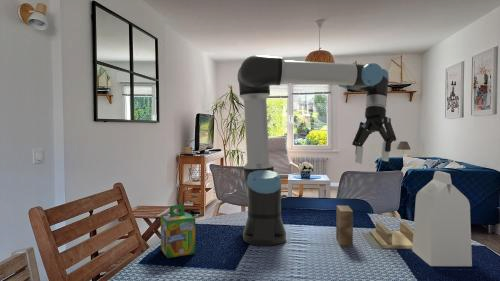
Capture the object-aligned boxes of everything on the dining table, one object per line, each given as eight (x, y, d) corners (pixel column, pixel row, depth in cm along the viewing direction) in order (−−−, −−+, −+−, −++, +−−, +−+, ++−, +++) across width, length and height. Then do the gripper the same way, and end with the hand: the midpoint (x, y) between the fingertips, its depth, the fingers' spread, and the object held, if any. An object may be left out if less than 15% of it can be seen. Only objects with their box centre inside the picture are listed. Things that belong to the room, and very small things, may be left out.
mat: (372, 249, 114) (372, 248, 114) (360, 233, 130) (360, 232, 130) (436, 250, 113) (436, 249, 113) (417, 234, 129) (417, 233, 129)
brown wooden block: (340, 247, 116) (340, 211, 116) (336, 239, 124) (336, 205, 124) (352, 247, 116) (353, 211, 115) (347, 239, 124) (348, 205, 123)
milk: (472, 267, 100) (474, 175, 99) (430, 267, 100) (432, 175, 99) (449, 251, 112) (451, 169, 111) (412, 251, 112) (413, 169, 111)
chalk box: (167, 259, 107) (166, 210, 106) (160, 249, 115) (159, 204, 114) (196, 254, 111) (196, 207, 111) (187, 245, 119) (187, 201, 119)
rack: (381, 247, 115) (381, 234, 114) (369, 233, 130) (369, 221, 129) (426, 248, 114) (426, 234, 113) (409, 234, 129) (409, 221, 128)
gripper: (409, 104, 128) (405, 161, 124) (360, 116, 151) (355, 165, 146) (394, 98, 125) (389, 157, 121) (346, 111, 148) (341, 161, 143)
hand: (371, 161), depth 134 cm, fingers open, 13 cm apart
